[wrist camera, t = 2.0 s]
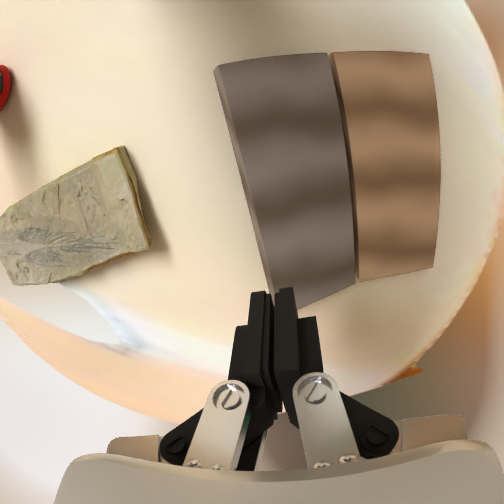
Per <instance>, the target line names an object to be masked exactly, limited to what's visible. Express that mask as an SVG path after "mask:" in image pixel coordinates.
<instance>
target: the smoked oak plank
mask: <svg viewBox="0 0 504 504" xmlns="http://www.w3.org/2000/svg"><path fill="white" fill-rule="evenodd" d="M213 72H214V76H215V79H216V83H217V87H218V91H219V95H220V99H221V102H222V106H223V110H224V114H225V118H226V122H227V126H228V129H229V133H230V137H231V141H232V145H233V149H234V153H235V157H236V161H237V164H238V168H239V172H240V176H241V180H242V184H243V188H244V192H245V196H246V200H247V204H248V208H249V212H250V216H251V220H252V224H253V228H254V232H255V236H256V240H257V244H258V248H259V252H260V256H261V260H262V264H263V268H264V272H265V276H266V280H267V284H268V288H269V292H270V294H271V296H272V300H273V304H274V293H277V292H279V289H280V288H287V287H293V290H294V296H295V301H296V307H297V310H298V309H300V308H303V307H305V306H307V305H309V304H312V303H314V302H316V301H318V300H320V299H323V298H325V297H327V296H329V295H331V294H334V293H336V292H338V291H340V290H342V289H344V288H346V287H348V286H350V285H353V284H355V259H354V235H353V218H352V205H351V193H350V183H349V174H348V165H347V157H346V149H345V142H344V135H343V129H342V123H341V117H340V111H339V105H338V100H337V95H336V90H335V85H334V80H333V75H332V71H331V67H330V62H329V58H328V54H327V53H308V54H293V55H282V56H272V57H264V58H257V59H250V60H244V61H238V62H232V63H227V64H222V65H218V66H217V67H216V68H215V69H214V70H213Z"/></svg>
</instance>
